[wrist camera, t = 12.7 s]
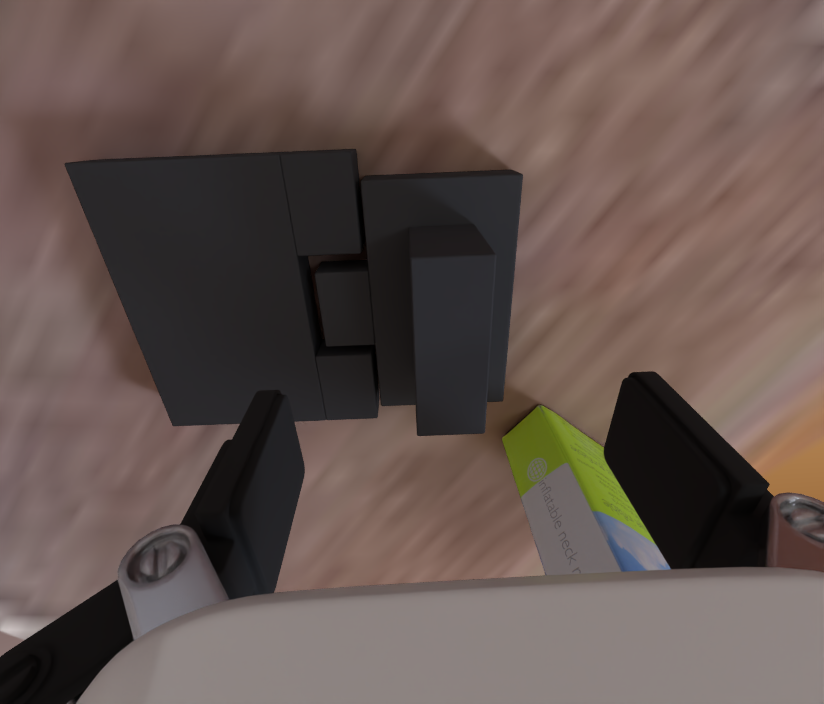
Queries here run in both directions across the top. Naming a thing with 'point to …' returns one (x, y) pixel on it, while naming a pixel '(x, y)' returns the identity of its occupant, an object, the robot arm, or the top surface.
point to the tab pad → (385, 274)
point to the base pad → (232, 276)
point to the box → (575, 501)
